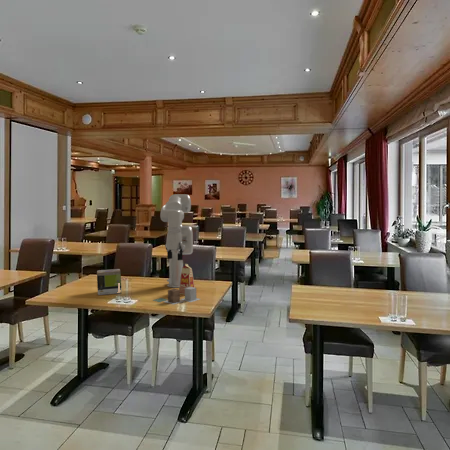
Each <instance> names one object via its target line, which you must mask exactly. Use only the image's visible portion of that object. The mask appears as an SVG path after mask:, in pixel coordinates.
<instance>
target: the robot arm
mask: <svg viewBox="0 0 450 450" xmlns="http://www.w3.org/2000/svg"><path fill="white" fill-rule="evenodd" d="M191 208H192V199H191V197H190V195H189V194H185V193H184V194H181V193H180V194H179V193H177V194H175V193H174V194H172V195H170V196H169V198H168V201H167V202H166V203H165V204H164V205H162V207H161V208H160V209H161V210H160V216H159V217H160V220H161V221H162V222H164V223H167V235H166V243H165V244H164V246H165V250H166V253H167V254H166V255H167V256H166V257H167V259H168V260H169V263H168V264H169V269H168V270H169V277H168V279H166V282H168V283H167V287H168V288H172V289H176V288H177V289H178V288H179V287H180V277H181V272H182V268H183V267H184V260H183V255H184V256H185V255H192V254H193V252H194V235H193V234H194V233H193V228H192V226H190V225H183V220H184V219H185V214H186V213H187V214H188V213H190V211H191Z"/></svg>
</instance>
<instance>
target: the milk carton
mask: <svg viewBox="0 0 450 450" xmlns="http://www.w3.org/2000/svg"><path fill="white" fill-rule="evenodd" d="M188 287H194V288H196V287H195V281H194V273H193V269H192V267H191V266H189V264H188V263H184V265H183V268H182V272H181V277H180V287H178V288H179V289H178V290H180V295H185V288H188Z"/></svg>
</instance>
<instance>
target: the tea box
mask: <svg viewBox="0 0 450 450" xmlns="http://www.w3.org/2000/svg"><path fill="white" fill-rule="evenodd" d="M121 273H122V272H121V269H120V268H115V269H114V268H113V269H101V270H100V269H99V270H97V271H96V285H97V286H96V287H97V295H98V296H102V295H113V294H114V295H115V294H116V295H117V294H118V293H117V292H118V283H120V290H121V292H122V275H121Z"/></svg>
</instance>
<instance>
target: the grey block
mask: <svg viewBox="0 0 450 450" xmlns="http://www.w3.org/2000/svg"><path fill="white" fill-rule="evenodd" d="M194 287H195V286H194ZM194 287H188V288H185V294H184V298H185V300H189V301H192V300H196V298H197V287H195V288H194Z"/></svg>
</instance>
